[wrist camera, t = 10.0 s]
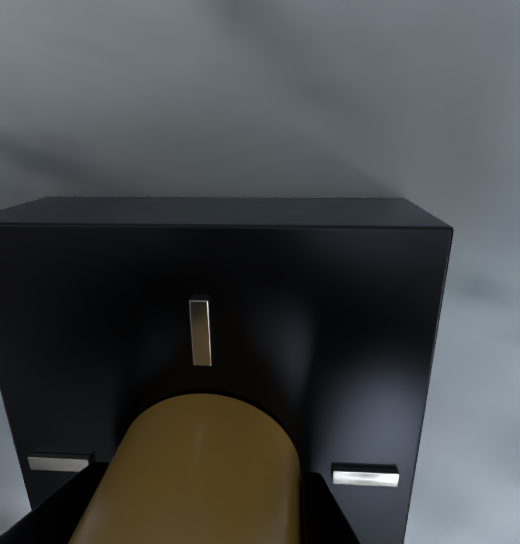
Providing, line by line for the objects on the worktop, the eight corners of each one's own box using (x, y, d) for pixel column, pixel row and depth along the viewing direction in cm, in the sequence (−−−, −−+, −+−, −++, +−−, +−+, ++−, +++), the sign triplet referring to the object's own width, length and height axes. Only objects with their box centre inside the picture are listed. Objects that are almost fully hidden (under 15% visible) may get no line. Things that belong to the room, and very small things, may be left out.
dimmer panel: (367, 530, 13) (391, 644, 10) (103, 516, 14) (54, 621, 11) (406, 198, 10) (459, 229, 7) (45, 195, 10) (-53, 224, 7)
